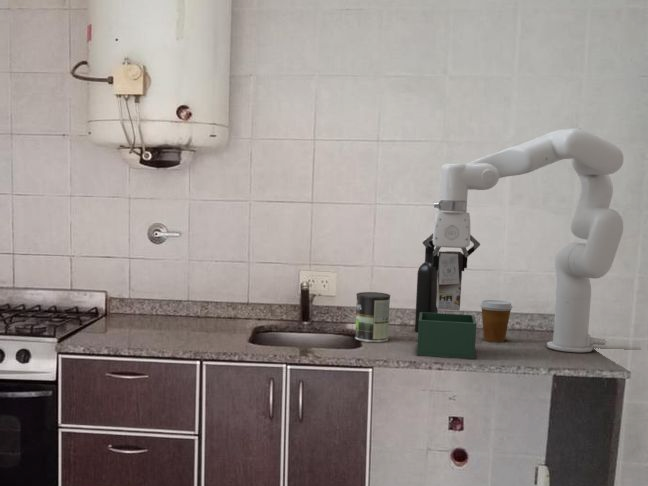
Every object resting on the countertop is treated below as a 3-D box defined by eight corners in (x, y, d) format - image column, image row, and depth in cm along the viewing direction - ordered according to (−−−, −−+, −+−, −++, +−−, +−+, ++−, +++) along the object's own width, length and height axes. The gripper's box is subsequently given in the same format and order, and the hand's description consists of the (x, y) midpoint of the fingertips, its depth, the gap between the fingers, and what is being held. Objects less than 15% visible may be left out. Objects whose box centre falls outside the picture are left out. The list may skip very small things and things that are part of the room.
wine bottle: (413, 331, 268) (417, 240, 265) (423, 329, 272) (427, 239, 268) (428, 333, 264) (432, 241, 260) (438, 331, 268) (442, 240, 264)
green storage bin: (472, 348, 241) (474, 315, 240) (474, 359, 226) (476, 323, 225) (418, 344, 245) (419, 312, 244) (417, 355, 230) (418, 320, 229)
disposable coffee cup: (476, 341, 253) (478, 302, 251) (480, 336, 262) (482, 299, 260) (508, 344, 249) (510, 305, 247) (512, 338, 257) (514, 301, 256)
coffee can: (355, 341, 248) (357, 296, 246) (354, 335, 258) (355, 291, 257) (390, 343, 247) (392, 297, 245) (387, 336, 257) (388, 292, 256)
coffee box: (460, 310, 229) (463, 253, 227) (437, 309, 230) (439, 252, 228) (458, 306, 238) (461, 251, 236) (435, 305, 239) (438, 250, 237)
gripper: (421, 206, 229) (418, 270, 231) (485, 208, 225) (482, 272, 227) (421, 206, 236) (418, 267, 239) (484, 207, 232) (480, 270, 234)
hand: (449, 269), depth 233 cm, fingers closed on coffee box, 6 cm apart
